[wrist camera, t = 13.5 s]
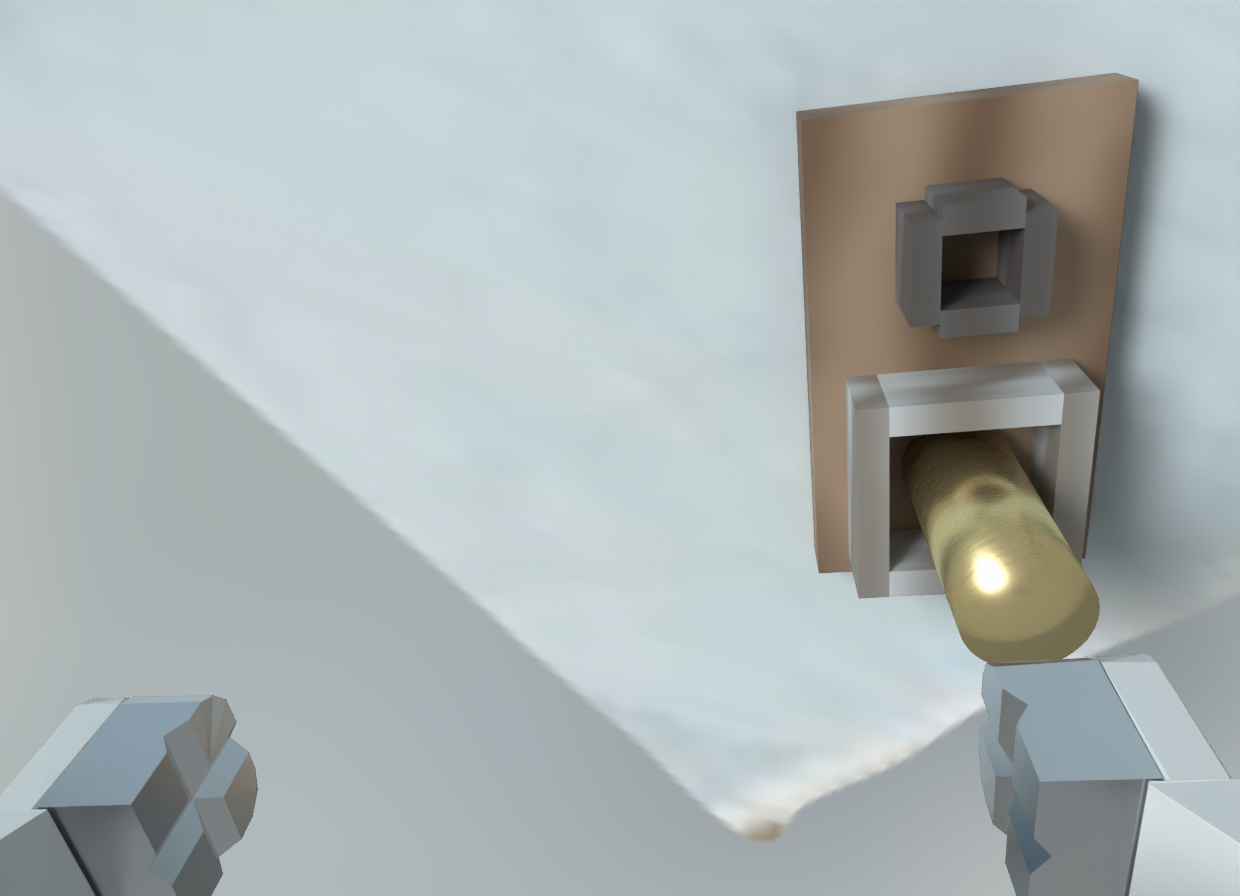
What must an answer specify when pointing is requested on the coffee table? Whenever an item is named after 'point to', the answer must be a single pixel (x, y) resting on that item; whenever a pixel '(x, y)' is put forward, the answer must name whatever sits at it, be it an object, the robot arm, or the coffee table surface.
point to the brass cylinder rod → (997, 549)
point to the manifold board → (957, 300)
